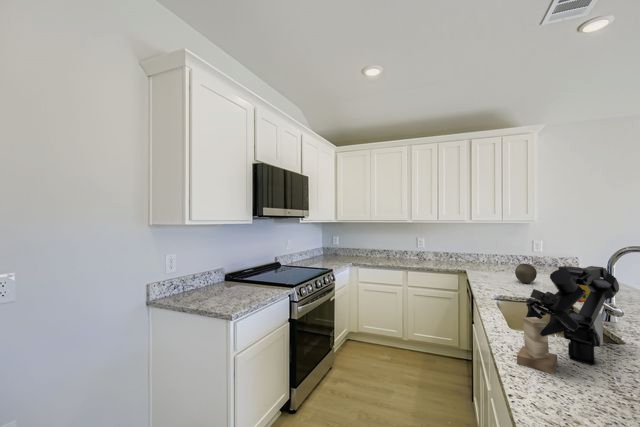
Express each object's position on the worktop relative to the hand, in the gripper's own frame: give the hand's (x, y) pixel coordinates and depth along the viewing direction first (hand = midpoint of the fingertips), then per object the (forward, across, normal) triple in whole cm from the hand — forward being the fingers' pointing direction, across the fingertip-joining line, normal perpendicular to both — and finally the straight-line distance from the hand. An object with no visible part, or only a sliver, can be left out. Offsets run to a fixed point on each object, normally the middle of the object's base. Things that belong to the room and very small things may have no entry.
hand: (532, 330), depth 102 cm
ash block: (+5, 0, +7) cm, 9 cm away
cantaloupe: (-44, -130, +61) cm, 151 cm away
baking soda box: (-48, -82, +65) cm, 115 cm away
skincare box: (-16, -20, +33) cm, 42 cm away
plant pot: (-55, -106, +72) cm, 139 cm away
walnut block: (+8, 0, +10) cm, 12 cm away
